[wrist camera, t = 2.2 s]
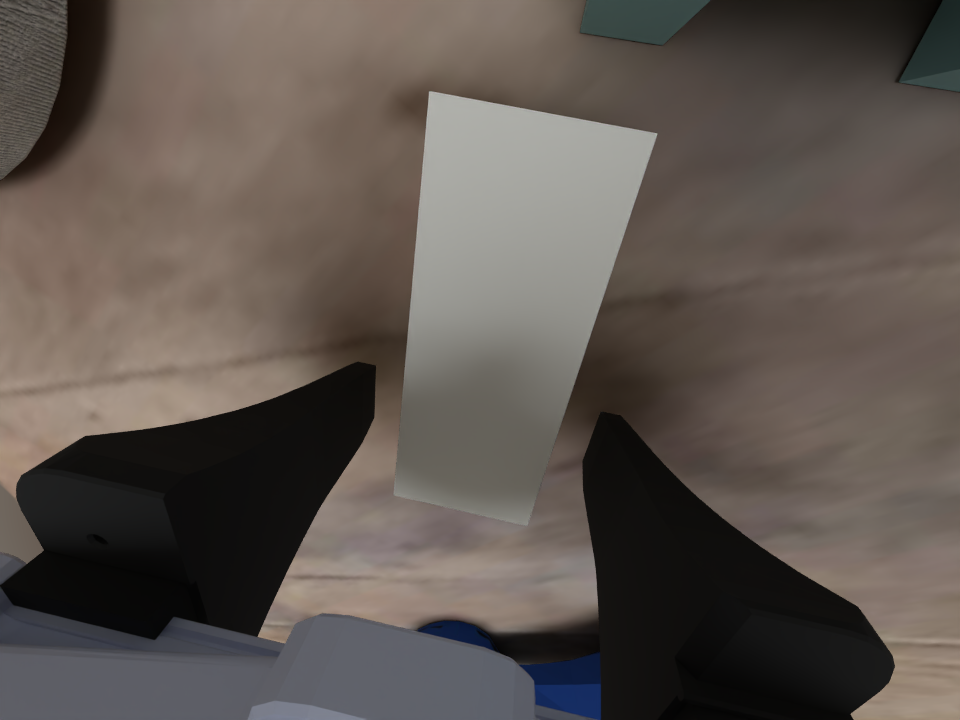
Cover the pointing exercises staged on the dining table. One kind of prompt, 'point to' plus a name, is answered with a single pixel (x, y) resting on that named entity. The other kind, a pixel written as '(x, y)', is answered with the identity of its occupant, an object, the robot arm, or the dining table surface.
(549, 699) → the toy
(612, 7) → the block
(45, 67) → the planter
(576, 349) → the peg
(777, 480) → the dining table surface
